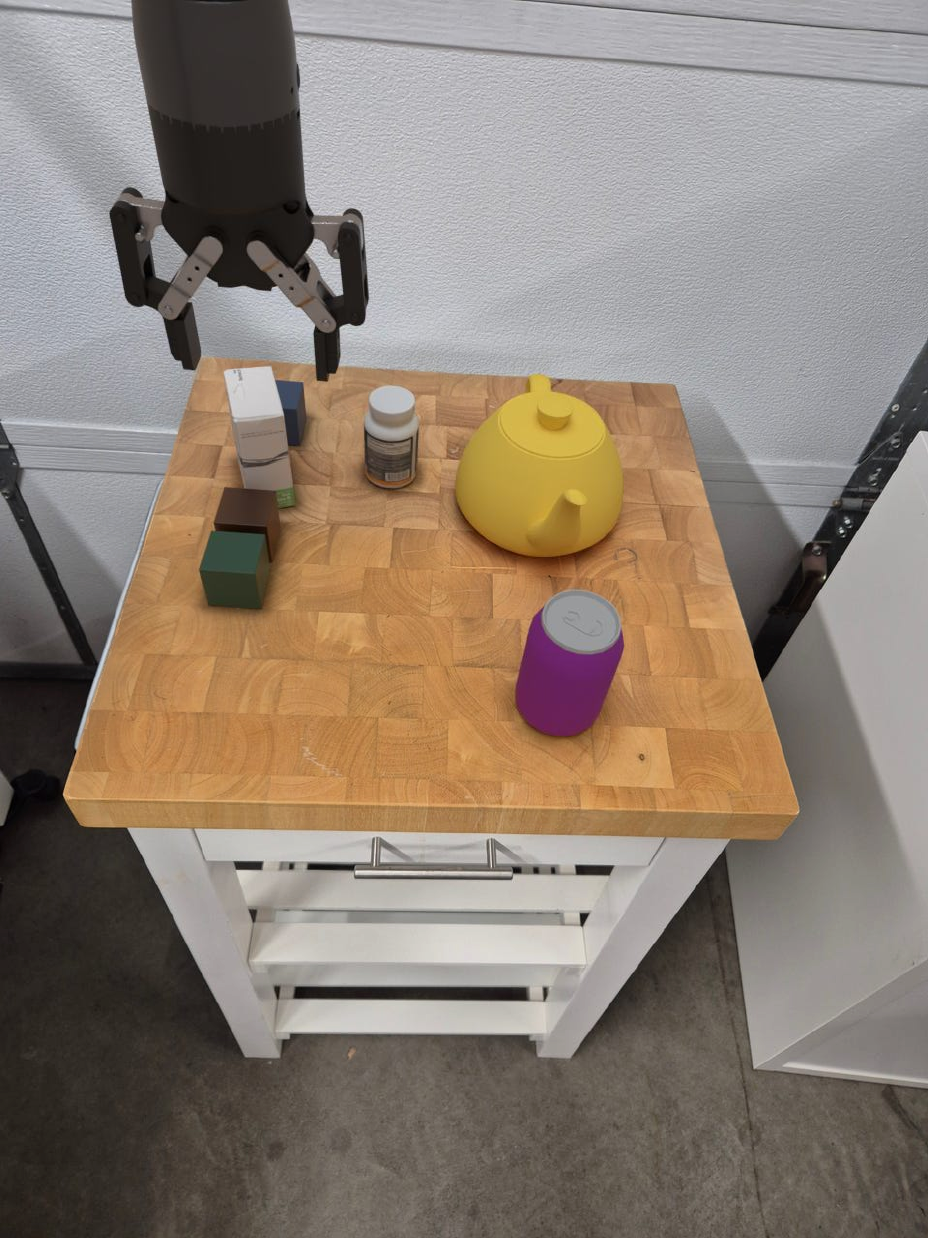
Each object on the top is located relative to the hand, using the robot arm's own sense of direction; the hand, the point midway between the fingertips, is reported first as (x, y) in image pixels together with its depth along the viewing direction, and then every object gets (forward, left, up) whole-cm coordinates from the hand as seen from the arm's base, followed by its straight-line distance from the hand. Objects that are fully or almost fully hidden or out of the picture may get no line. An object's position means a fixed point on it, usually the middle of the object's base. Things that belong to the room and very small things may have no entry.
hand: (259, 368), depth 53 cm
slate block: (-6, +29, -28) cm, 41 cm away
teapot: (+23, +18, -28) cm, 41 cm away
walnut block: (-6, +11, -28) cm, 31 cm away
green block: (-6, +5, -28) cm, 29 cm away
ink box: (-6, +20, -28) cm, 35 cm away
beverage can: (+24, -6, -28) cm, 38 cm away
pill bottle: (+7, +23, -28) cm, 37 cm away
